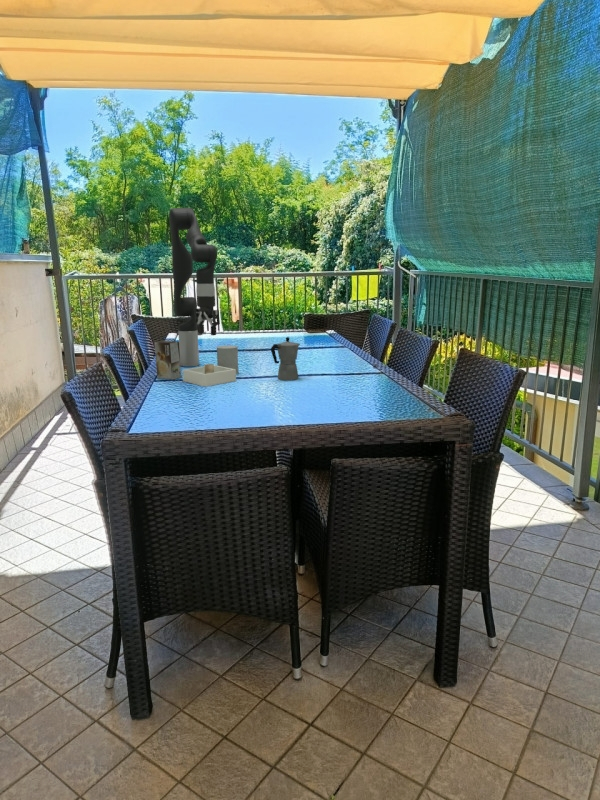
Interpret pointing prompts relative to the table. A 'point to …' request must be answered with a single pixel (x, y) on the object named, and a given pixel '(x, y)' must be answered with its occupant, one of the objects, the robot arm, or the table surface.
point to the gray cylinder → (228, 357)
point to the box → (209, 376)
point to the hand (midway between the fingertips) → (207, 334)
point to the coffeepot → (286, 360)
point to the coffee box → (168, 359)
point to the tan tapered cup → (209, 368)
